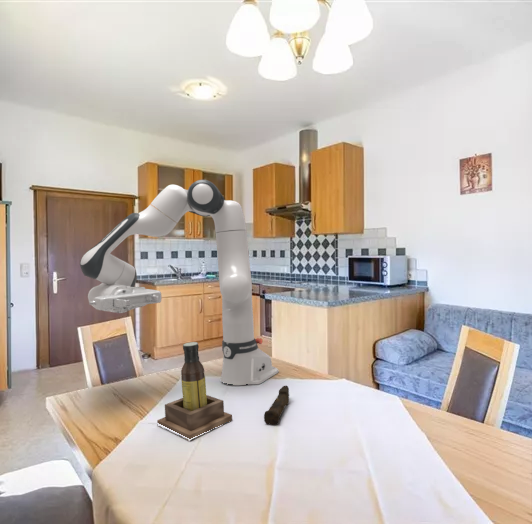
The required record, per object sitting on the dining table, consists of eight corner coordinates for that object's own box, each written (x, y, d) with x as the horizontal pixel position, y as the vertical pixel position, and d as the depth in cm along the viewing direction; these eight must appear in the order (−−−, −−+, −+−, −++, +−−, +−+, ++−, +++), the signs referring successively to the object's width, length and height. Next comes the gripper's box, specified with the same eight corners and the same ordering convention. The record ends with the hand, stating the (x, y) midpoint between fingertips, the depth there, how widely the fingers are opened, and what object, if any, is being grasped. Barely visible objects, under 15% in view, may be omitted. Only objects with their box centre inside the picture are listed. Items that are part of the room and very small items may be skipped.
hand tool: (278, 427, 95) (278, 409, 95) (263, 425, 97) (263, 407, 96) (296, 399, 113) (295, 384, 113) (283, 398, 114) (283, 383, 114)
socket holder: (199, 407, 109) (198, 389, 109) (232, 420, 100) (231, 400, 100) (157, 425, 98) (156, 405, 98) (190, 441, 89) (189, 418, 89)
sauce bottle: (203, 410, 103) (199, 339, 103) (211, 418, 98) (207, 343, 98) (180, 416, 100) (176, 342, 100) (187, 425, 95) (183, 347, 94)
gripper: (85, 292, 112) (107, 294, 102) (147, 286, 127) (170, 287, 118) (87, 313, 112) (108, 317, 103) (148, 304, 127) (171, 307, 118)
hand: (142, 301), depth 110 cm, fingers open, 8 cm apart
